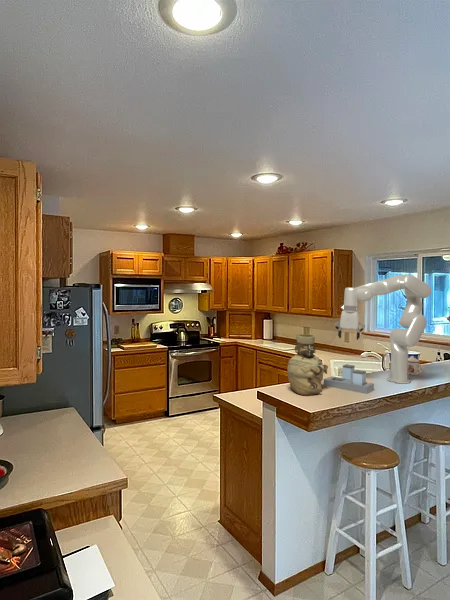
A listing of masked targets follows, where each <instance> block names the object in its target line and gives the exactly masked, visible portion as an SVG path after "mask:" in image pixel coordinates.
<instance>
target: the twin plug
mask: <svg viewBox="0 0 450 600" xmlns="http://www.w3.org/2000/svg"><path fill="white" fill-rule="evenodd" d="M366 382H367V370H360V369H356V370H354V371H353V384H357V385H365V384H366Z"/></svg>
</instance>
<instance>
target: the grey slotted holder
mask: <svg viewBox="0 0 450 600" xmlns="http://www.w3.org/2000/svg"><path fill="white" fill-rule="evenodd" d="M323 386H325V387H330V388H336V389H340V390H345V391H351V392H355V393H360V394H366V395H367V394H369V393H371V392H373V391H375V383H372V382H367V381H366V384H365V385H357V384H353V380H351V379H345V378H340V376H339V377H338V376H333V375H332V376H329V377H326V378H323Z"/></svg>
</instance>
